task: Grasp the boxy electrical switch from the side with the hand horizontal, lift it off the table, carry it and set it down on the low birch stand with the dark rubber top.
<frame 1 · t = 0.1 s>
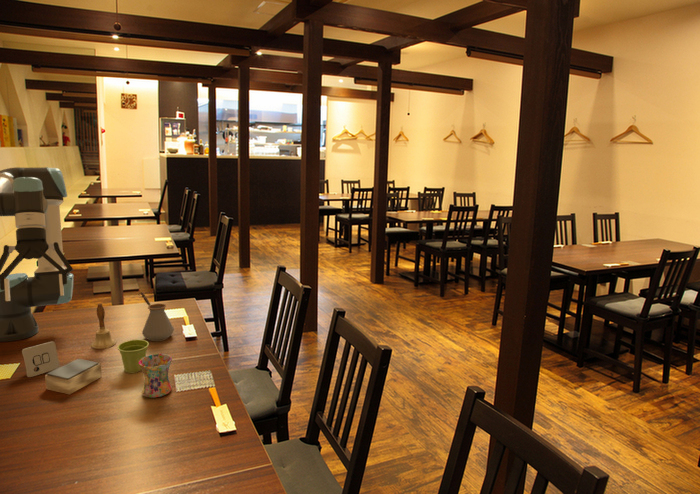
hand: (35, 298, 140), 28 cm above the table, tool tilted 20°, fingers open, 13 cm apart
plant pot: (135, 369, 157), on the table
coffee pot: (153, 334, 186), on the table
mug: (156, 391, 144), on the table
electrical switch: (40, 371, 153), on the table
birch stand: (74, 382, 147), on the table
hand bell: (103, 344, 175), on the table
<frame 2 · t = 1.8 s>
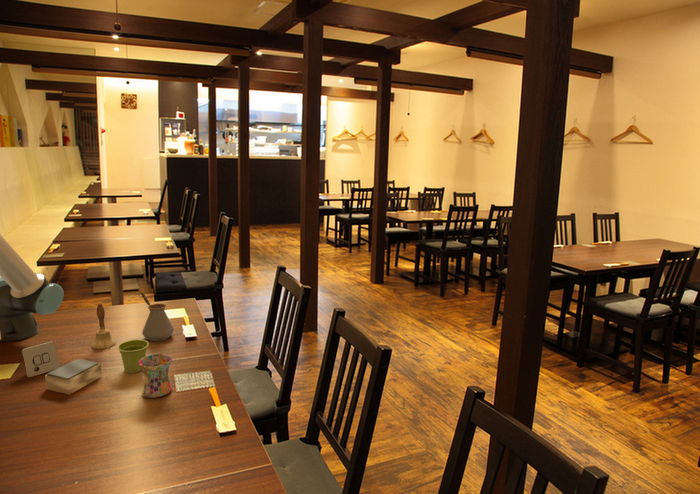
nothing on the table moved.
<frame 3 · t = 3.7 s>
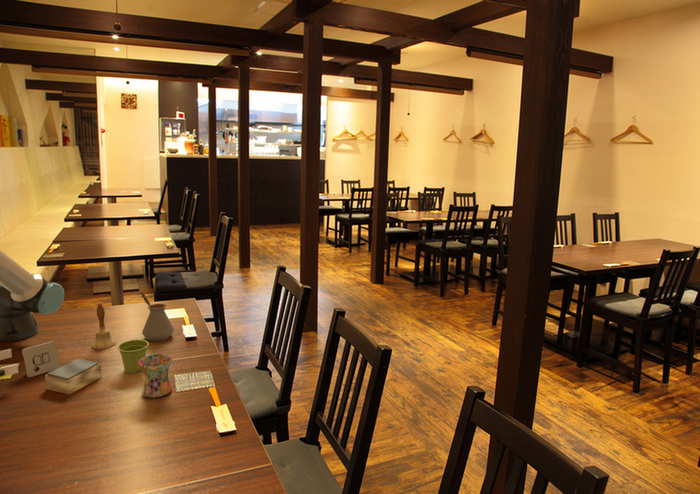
hand: (14, 360, 147), 6 cm above the table, tool horizontal, fingers open, 13 cm apart
nothing on the table moved.
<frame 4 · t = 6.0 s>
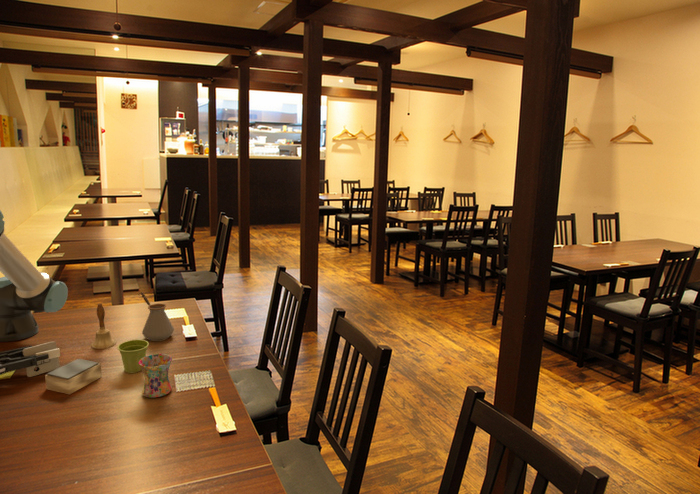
hand: (57, 349, 156), 6 cm above the table, tool horizontal, fingers closed on electrical switch, 4 cm apart
electrical switch: (40, 370, 153), on the table, touching gripper
everything else where it was.
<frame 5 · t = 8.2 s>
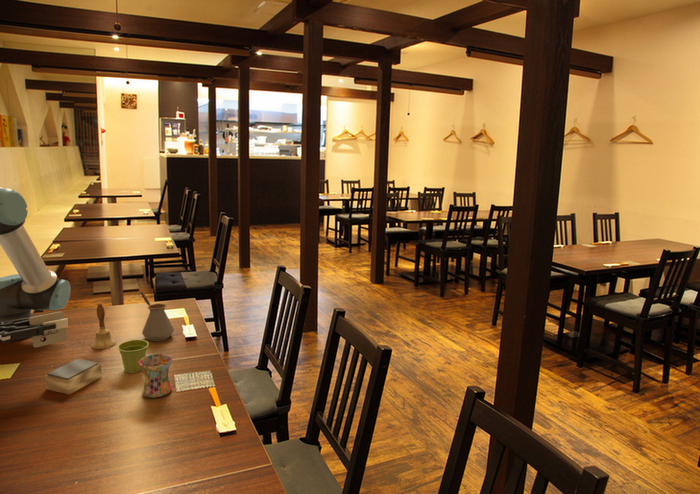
hand: (65, 320, 148), 18 cm above the table, tool horizontal, fingers closed on electrical switch, 4 cm apart
electrical switch: (47, 342, 146), point 13 cm above the table, touching gripper
everything else where it was.
when the fingers open (12 cm above the table, at t = 10.0 s): electrical switch drops 2 cm, resting on birch stand.
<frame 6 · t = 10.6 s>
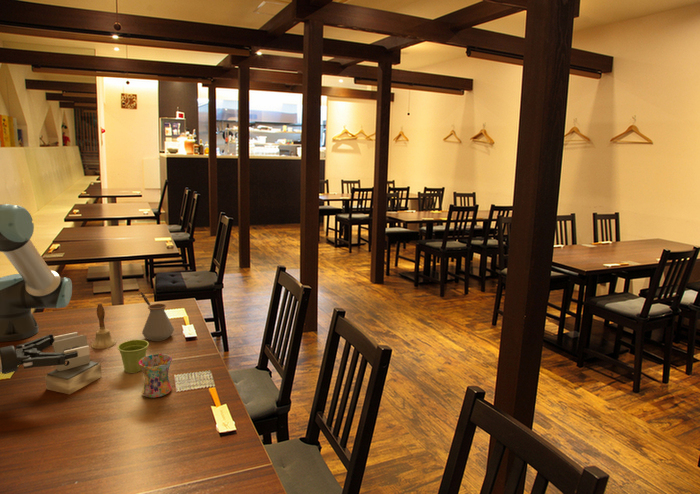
hand: (83, 342, 146), 12 cm above the table, tool horizontal, fingers open, 13 cm apart
electrical switch: (71, 366, 147), point 5 cm above the table, touching birch stand
everything else where it was.
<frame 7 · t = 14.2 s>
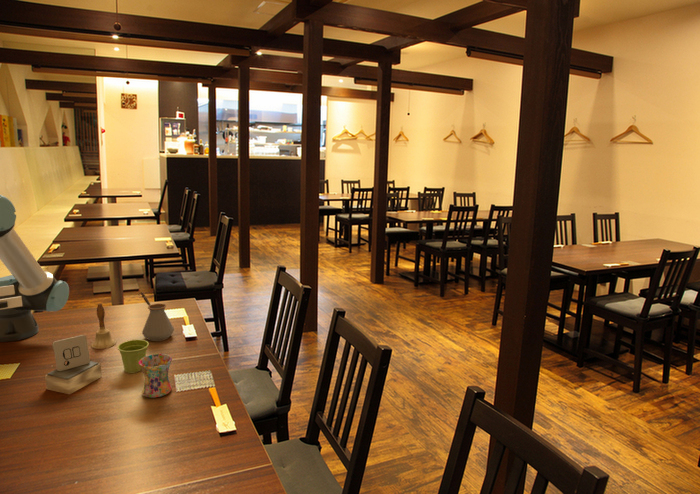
hand: (18, 295, 135), 30 cm above the table, tool horizontal, fingers open, 13 cm apart
nothing on the table moved.
at the end: electrical switch 2.3 cm from the birch stand (horizontally); electrical switch touching birch stand; electrical switch tilted 2° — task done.
